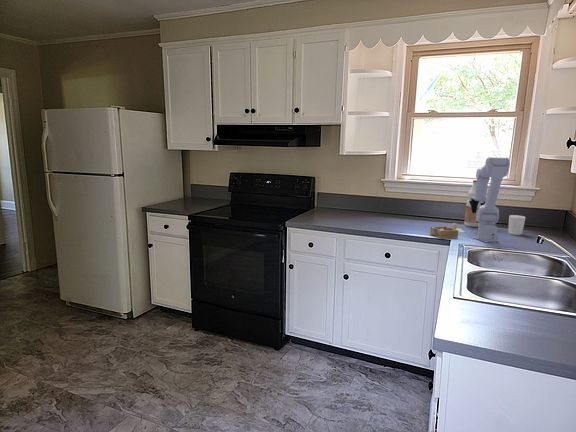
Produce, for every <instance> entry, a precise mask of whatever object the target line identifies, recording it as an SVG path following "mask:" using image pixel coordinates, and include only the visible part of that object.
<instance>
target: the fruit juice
mask: <svg viewBox="0 0 576 432" xmlns="http://www.w3.org/2000/svg"><path fill="white" fill-rule="evenodd" d="M476 184H477V179H472V185H471V187H470V190H469V191H468V192H467V200H466V204H465V211H464V212H465V215H464V223H463V224H464V225H465V226H467V227H473V228H475V227H476V228H478V226H479V222H478V221H477V220H476V213H477V211H478V209H479V207H480V206H481V204H480V203H484V202H479V203H478V206H477V211H476V213H472V209H471V205H470V203H469V201H471V200H470V196H474V197H475V192H476ZM480 201H481V200H480Z"/></svg>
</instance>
